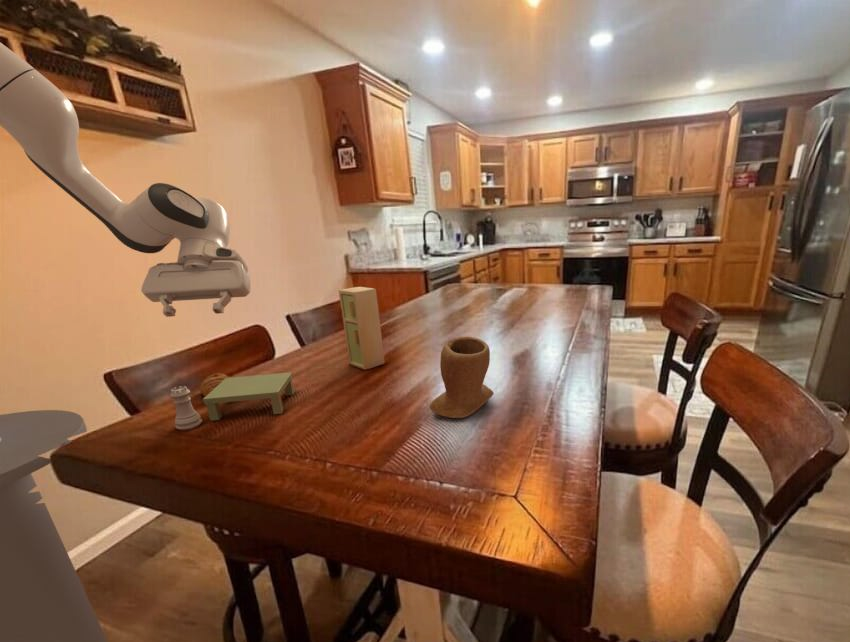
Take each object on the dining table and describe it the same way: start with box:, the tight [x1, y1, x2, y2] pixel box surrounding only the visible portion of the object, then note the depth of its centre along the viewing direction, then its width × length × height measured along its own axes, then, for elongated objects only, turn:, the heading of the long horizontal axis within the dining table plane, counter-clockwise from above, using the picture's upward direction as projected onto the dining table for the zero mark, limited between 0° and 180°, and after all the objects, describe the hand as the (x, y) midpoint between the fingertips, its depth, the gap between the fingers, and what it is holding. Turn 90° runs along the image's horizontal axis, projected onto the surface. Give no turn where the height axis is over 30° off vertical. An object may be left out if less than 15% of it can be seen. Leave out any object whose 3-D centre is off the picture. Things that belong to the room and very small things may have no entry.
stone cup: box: [428, 336, 494, 419], centre depth 83 cm, size 15×12×15 cm
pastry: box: [199, 373, 230, 398], centre depth 95 cm, size 9×7×4 cm
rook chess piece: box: [169, 385, 203, 431], centre depth 79 cm, size 4×4×8 cm
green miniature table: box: [202, 371, 295, 422], centre depth 88 cm, size 14×12×5 cm
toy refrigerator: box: [338, 286, 386, 371], centre depth 110 cm, size 8×7×21 cm
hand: (193, 313), depth 85 cm, fingers open, 8 cm apart
